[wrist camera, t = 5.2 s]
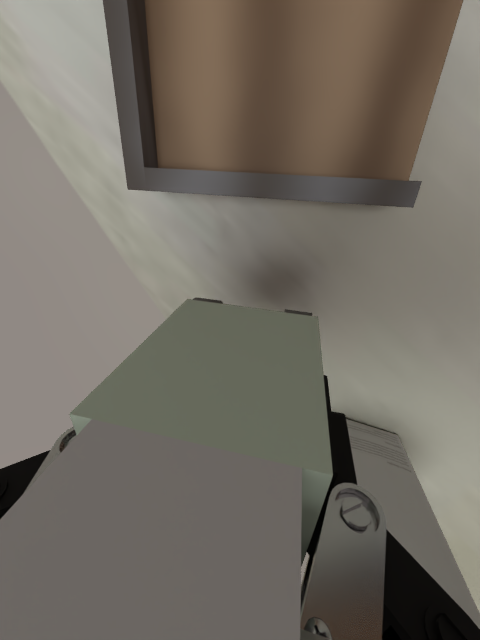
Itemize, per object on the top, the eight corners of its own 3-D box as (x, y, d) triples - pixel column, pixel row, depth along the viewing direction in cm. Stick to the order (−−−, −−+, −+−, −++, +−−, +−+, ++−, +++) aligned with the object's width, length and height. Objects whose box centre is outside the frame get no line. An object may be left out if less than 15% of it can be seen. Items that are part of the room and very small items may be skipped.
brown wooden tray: (483, -152, 11) (593, -349, 7) (385, 202, 18) (413, 207, 14) (139, -114, 14) (70, -247, 9) (162, 188, 20) (127, 189, 16)
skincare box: (300, 446, 30) (305, 665, 16) (324, 406, 27) (354, 637, 13) (372, 470, 30) (439, 716, 16) (405, 433, 26) (523, 699, 13)
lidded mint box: (316, 303, 11) (443, 1637, 1) (292, 426, 14) (261, 997, 4) (198, 288, 11) (-412, 880, 2) (201, 407, 15) (-4, 844, 5)
